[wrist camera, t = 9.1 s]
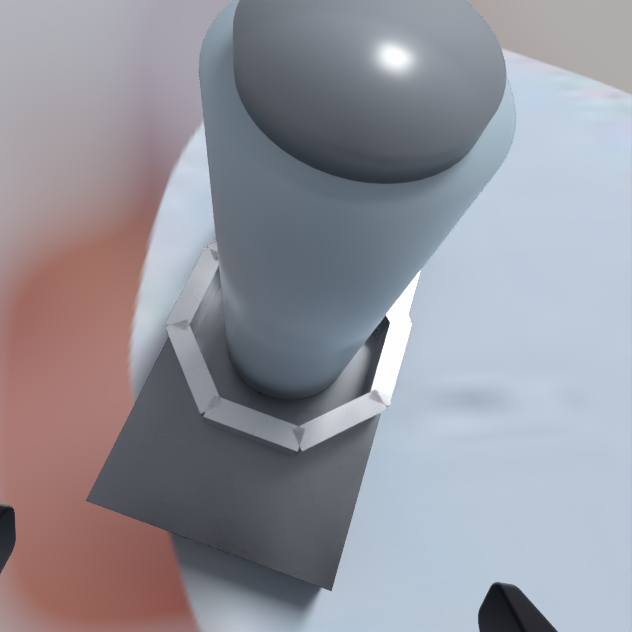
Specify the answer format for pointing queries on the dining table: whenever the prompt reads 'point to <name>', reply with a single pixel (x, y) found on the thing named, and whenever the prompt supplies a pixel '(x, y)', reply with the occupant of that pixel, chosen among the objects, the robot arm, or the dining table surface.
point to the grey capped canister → (340, 166)
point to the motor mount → (249, 442)
